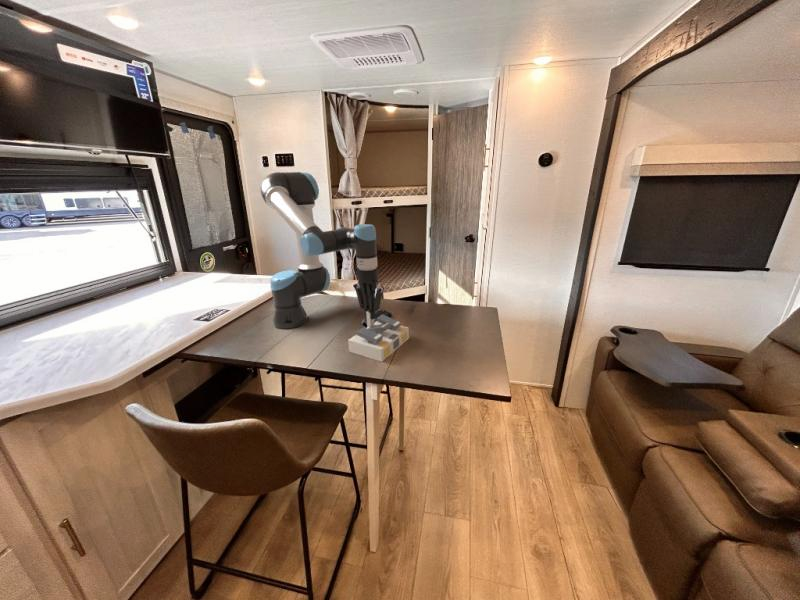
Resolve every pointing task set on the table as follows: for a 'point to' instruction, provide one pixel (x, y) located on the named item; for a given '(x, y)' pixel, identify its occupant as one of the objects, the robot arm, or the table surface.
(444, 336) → the table surface
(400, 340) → the switch unit
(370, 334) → the rocker
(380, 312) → the electronic device
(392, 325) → the block
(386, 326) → the block
